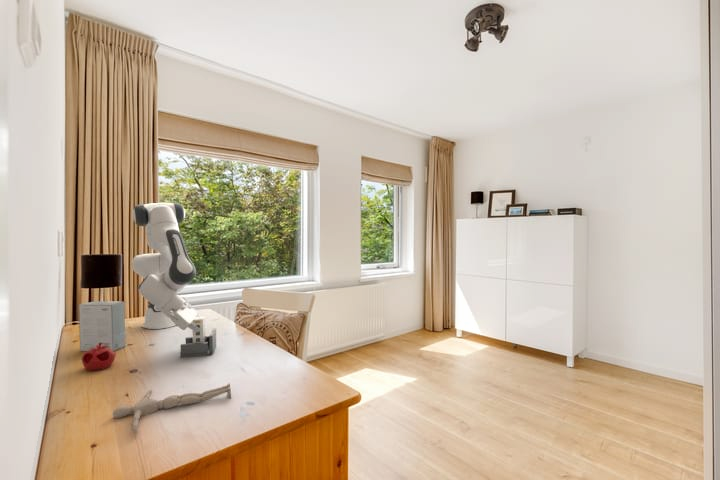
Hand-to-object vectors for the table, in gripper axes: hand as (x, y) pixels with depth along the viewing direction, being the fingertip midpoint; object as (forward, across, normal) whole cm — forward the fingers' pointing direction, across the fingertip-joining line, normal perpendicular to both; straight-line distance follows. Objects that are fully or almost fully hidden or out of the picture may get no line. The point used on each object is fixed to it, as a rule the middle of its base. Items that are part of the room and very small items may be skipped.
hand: (200, 328), depth 147 cm
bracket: (+6, 0, +7) cm, 10 cm away
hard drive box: (-22, +16, +36) cm, 46 cm away
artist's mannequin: (+8, -48, +7) cm, 49 cm away
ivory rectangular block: (+4, 0, +5) cm, 6 cm away
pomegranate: (-17, -8, +31) cm, 36 cm away
